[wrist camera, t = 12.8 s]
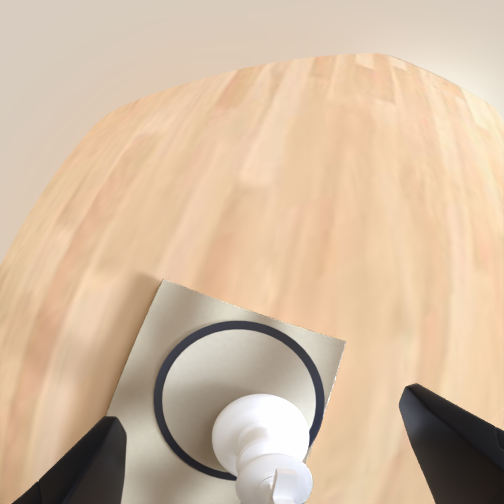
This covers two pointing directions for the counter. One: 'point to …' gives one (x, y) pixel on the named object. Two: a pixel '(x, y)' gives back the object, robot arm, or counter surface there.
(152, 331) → the grey plate with ring
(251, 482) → the chess piece
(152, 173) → the counter surface
